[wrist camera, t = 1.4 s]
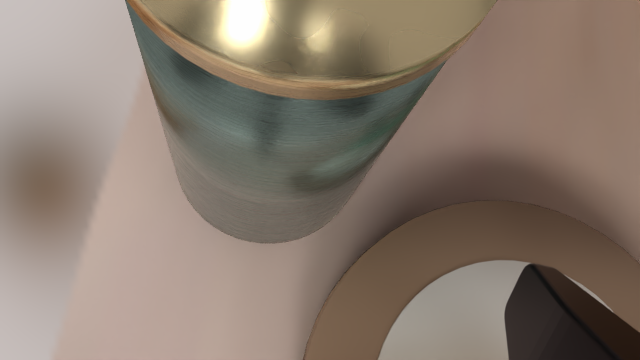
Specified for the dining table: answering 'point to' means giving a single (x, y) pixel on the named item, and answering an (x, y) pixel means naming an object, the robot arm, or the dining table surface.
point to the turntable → (463, 283)
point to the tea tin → (288, 97)
